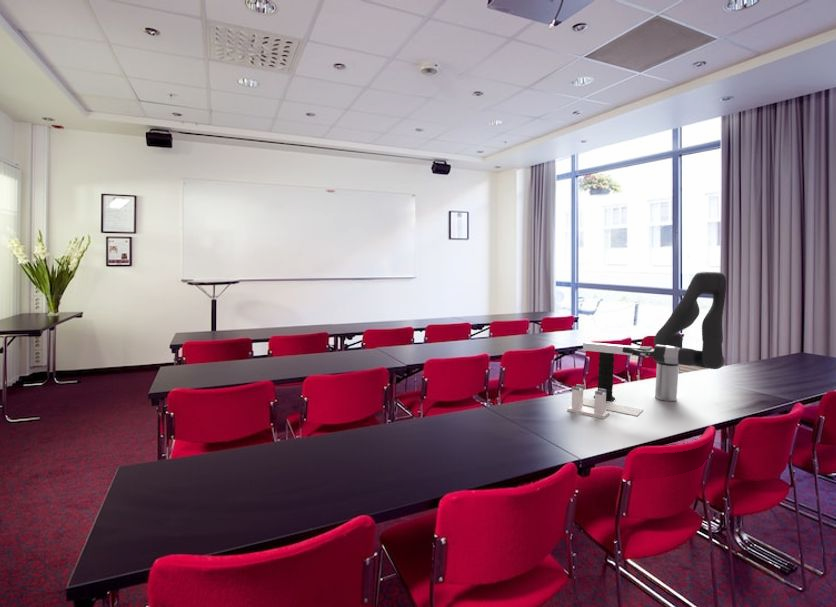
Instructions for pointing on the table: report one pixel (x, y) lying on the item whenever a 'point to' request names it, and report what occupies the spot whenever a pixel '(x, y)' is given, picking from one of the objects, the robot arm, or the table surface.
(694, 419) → the table surface
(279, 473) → the table surface
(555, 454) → the table surface
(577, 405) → the rack
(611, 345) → the rail
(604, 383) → the handle grip
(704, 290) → the robot arm
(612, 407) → the mat
